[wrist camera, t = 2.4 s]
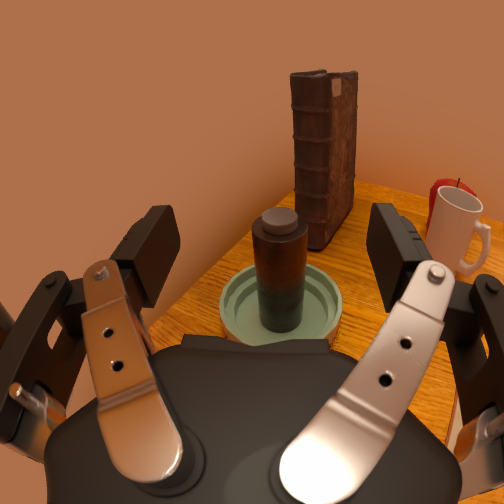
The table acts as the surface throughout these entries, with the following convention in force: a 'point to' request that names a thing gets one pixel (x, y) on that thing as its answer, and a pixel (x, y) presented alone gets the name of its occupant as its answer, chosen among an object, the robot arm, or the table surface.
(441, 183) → the apple
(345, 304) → the table surface
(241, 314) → the celadon bowl
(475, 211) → the mug
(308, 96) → the book
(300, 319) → the thermos flask
